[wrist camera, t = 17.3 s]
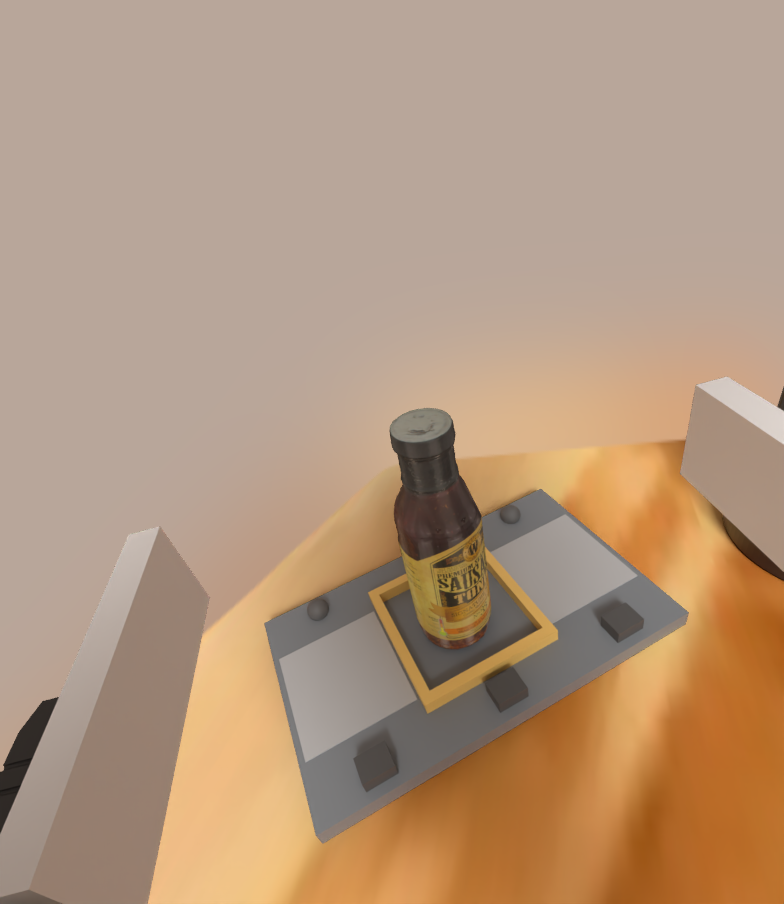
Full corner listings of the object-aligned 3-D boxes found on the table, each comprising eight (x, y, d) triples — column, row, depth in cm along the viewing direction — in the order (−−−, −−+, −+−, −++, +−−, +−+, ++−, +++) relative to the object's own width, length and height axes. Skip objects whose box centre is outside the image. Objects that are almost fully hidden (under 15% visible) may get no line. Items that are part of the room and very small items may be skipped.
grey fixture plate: (541, 499, 52) (540, 478, 51) (685, 624, 38) (691, 601, 37) (270, 632, 46) (258, 614, 44) (322, 843, 32) (309, 828, 30)
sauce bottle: (461, 669, 37) (416, 473, 26) (404, 625, 42) (344, 440, 30) (510, 611, 41) (489, 413, 29) (453, 576, 45) (415, 391, 33)
